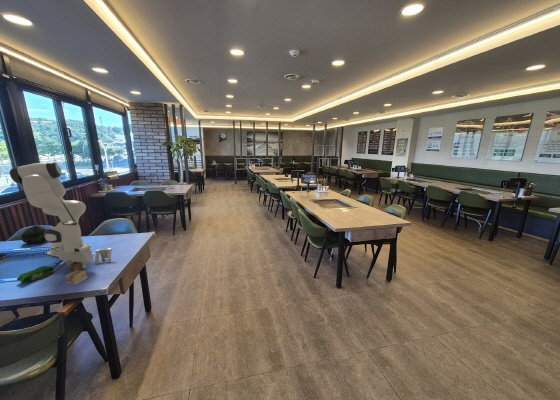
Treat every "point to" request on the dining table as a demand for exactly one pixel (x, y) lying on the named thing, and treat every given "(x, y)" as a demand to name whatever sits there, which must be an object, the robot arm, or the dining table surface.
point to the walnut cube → (75, 266)
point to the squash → (33, 234)
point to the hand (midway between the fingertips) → (77, 267)
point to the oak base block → (76, 276)
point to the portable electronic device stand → (103, 255)
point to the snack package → (35, 274)
